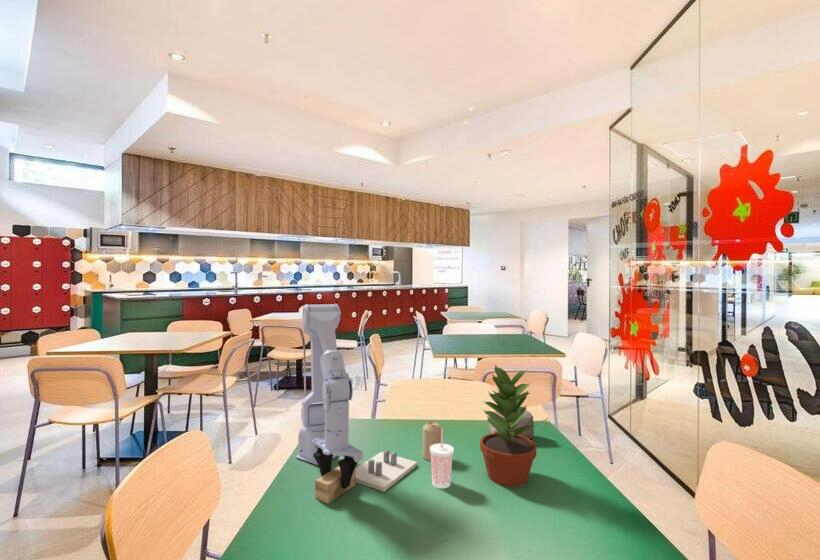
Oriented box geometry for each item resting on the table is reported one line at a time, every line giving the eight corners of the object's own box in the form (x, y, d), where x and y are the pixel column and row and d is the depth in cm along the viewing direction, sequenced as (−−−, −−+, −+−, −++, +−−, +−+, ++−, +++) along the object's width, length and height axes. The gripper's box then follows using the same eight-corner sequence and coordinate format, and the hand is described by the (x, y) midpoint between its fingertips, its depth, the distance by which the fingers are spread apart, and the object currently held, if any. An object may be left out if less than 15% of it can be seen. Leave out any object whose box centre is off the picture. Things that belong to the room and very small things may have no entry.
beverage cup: (425, 486, 100) (426, 431, 100) (433, 475, 106) (434, 422, 105) (449, 492, 98) (450, 435, 97) (456, 480, 103) (457, 426, 103)
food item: (493, 442, 128) (494, 411, 128) (487, 432, 136) (487, 403, 135) (535, 442, 128) (536, 411, 128) (527, 432, 136) (527, 403, 136)
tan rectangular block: (328, 504, 92) (328, 485, 92) (315, 499, 94) (315, 480, 94) (355, 485, 101) (355, 467, 101) (343, 480, 103) (343, 463, 103)
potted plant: (546, 475, 107) (548, 363, 106) (519, 498, 95) (521, 372, 95) (497, 457, 117) (499, 354, 116) (467, 476, 106) (469, 362, 105)
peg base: (345, 478, 104) (345, 462, 104) (381, 455, 117) (381, 441, 117) (383, 491, 97) (384, 475, 97) (416, 465, 111) (417, 451, 111)
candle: (440, 462, 113) (440, 427, 113) (421, 460, 114) (421, 425, 114) (442, 453, 119) (443, 420, 119) (424, 451, 120) (424, 418, 120)
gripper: (303, 426, 98) (302, 482, 98) (349, 439, 90) (348, 499, 90) (323, 417, 104) (322, 470, 104) (368, 429, 96) (367, 486, 96)
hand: (336, 483), depth 97 cm, fingers open, 6 cm apart
